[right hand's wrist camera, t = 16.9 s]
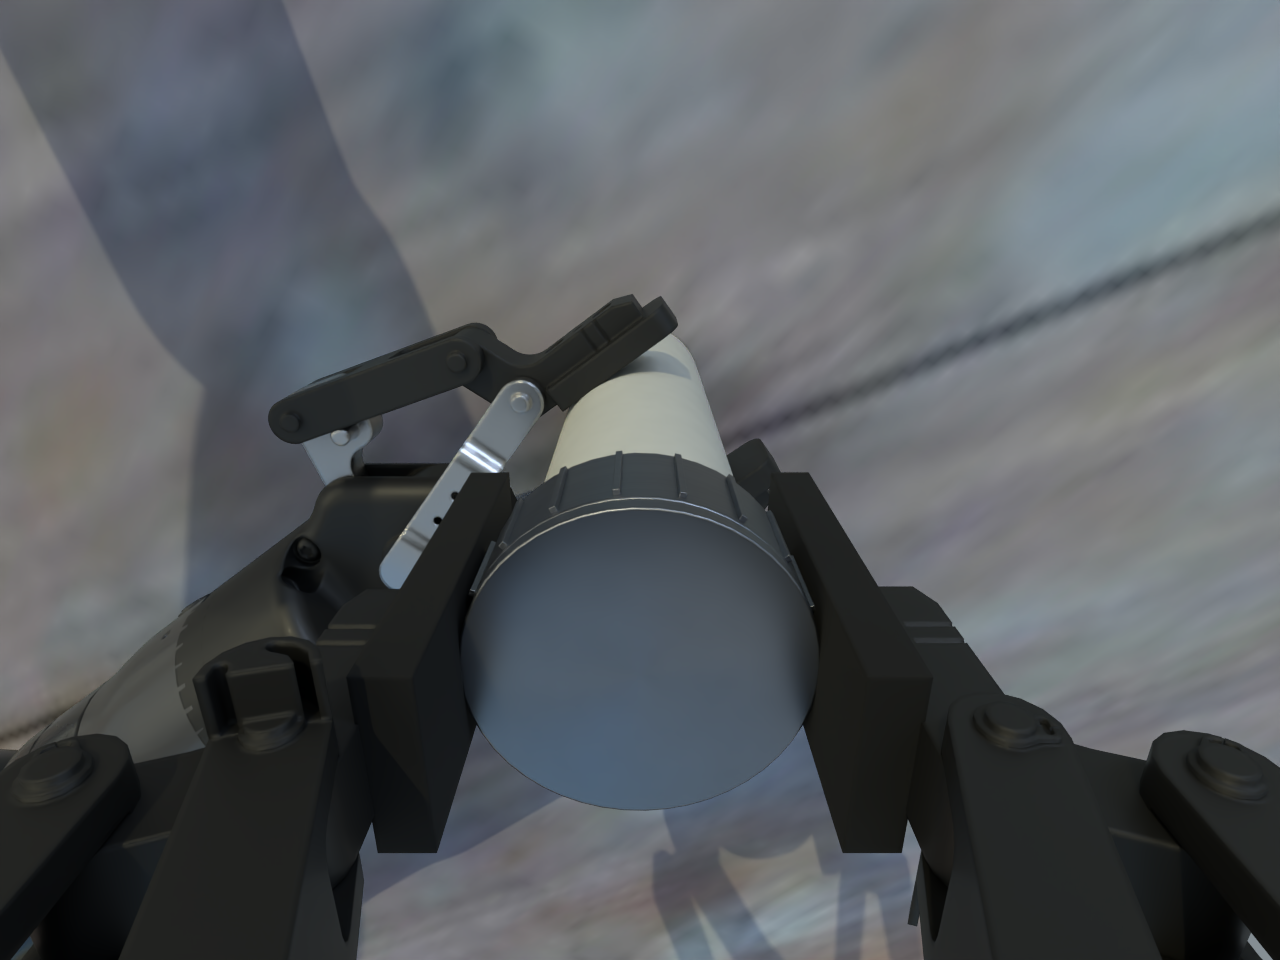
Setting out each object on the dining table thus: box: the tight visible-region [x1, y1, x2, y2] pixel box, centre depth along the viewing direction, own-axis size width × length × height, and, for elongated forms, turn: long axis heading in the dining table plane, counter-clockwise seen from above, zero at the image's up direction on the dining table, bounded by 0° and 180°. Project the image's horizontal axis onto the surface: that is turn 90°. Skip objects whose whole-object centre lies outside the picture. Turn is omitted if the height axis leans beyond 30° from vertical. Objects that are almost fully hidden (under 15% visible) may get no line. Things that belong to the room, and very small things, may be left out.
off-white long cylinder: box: [545, 334, 733, 482], centre depth 19 cm, size 4×4×16 cm
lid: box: [459, 451, 820, 811], centre depth 11 cm, size 5×5×2 cm
